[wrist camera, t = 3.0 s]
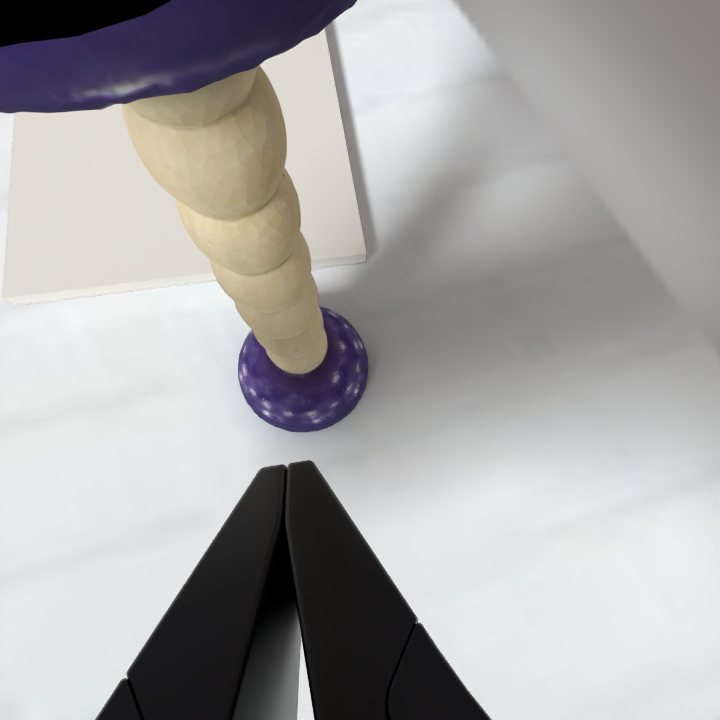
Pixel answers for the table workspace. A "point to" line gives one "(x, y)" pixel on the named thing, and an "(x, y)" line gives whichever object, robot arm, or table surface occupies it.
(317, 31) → the toy lamp
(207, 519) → the table surface
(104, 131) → the felt mat
